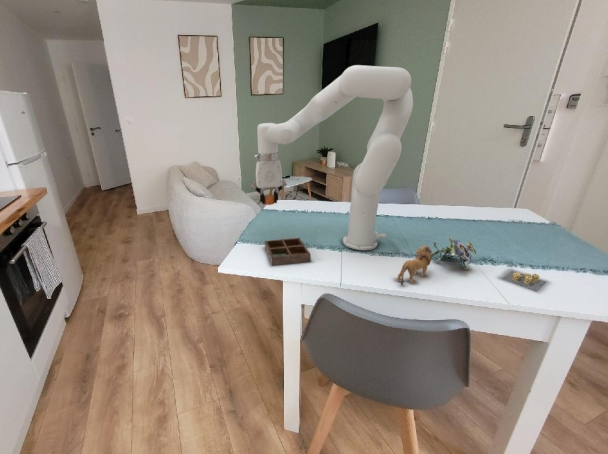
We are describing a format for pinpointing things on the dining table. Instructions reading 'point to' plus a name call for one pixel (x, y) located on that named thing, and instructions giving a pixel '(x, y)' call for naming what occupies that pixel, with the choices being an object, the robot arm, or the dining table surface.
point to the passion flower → (457, 252)
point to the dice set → (525, 280)
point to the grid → (287, 251)
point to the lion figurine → (416, 264)
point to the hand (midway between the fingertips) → (269, 202)
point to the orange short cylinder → (269, 199)
